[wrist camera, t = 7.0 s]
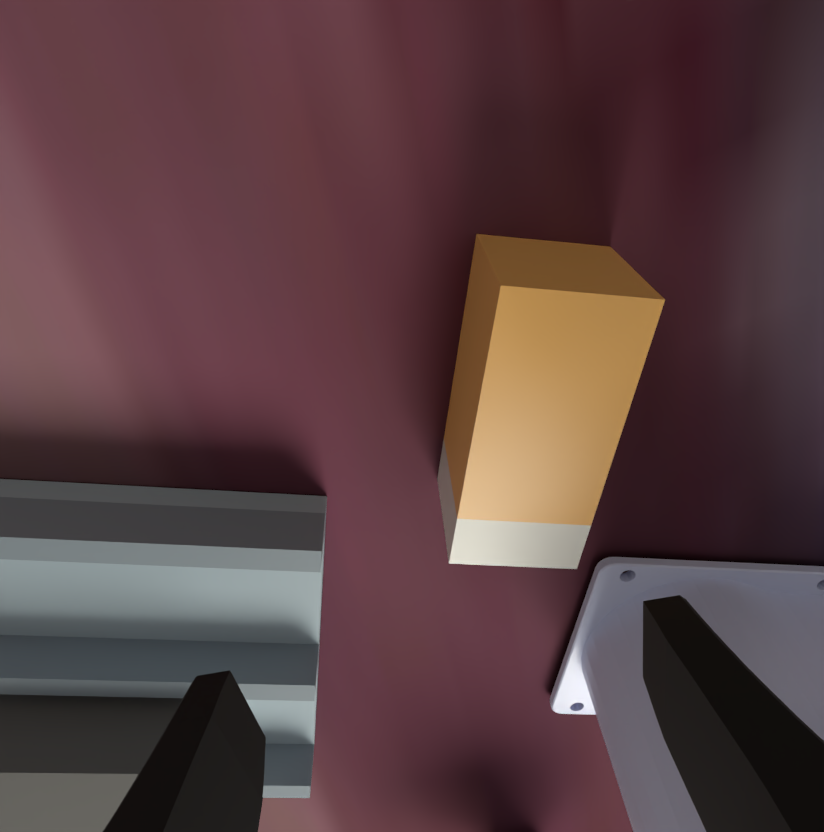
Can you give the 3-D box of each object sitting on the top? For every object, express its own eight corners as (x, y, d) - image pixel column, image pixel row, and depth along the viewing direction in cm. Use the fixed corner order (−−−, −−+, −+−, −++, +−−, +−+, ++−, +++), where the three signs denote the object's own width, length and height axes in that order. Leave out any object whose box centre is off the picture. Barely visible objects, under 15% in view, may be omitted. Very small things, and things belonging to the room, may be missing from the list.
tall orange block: (476, 233, 16) (500, 285, 13) (610, 246, 16) (664, 299, 13) (437, 478, 20) (448, 563, 17) (545, 485, 20) (576, 568, 17)
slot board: (326, 496, 20) (321, 551, 18) (315, 737, 26) (309, 797, 24) (-94, 474, 19) (-151, 529, 17) (1, 732, 25) (-32, 795, 23)
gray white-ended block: (32, 727, 24) (-20, 832, 21) (12, 666, 22) (-47, 772, 19) (241, 730, 24) (222, 832, 21) (238, 672, 23) (217, 774, 20)
